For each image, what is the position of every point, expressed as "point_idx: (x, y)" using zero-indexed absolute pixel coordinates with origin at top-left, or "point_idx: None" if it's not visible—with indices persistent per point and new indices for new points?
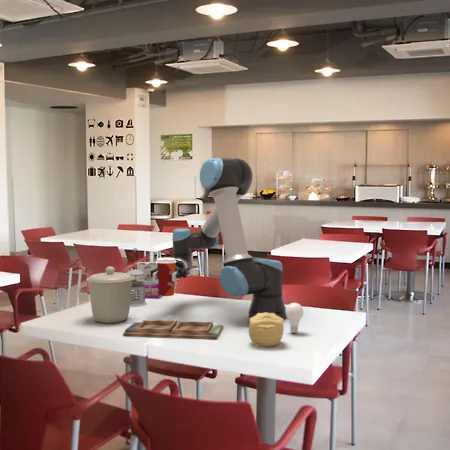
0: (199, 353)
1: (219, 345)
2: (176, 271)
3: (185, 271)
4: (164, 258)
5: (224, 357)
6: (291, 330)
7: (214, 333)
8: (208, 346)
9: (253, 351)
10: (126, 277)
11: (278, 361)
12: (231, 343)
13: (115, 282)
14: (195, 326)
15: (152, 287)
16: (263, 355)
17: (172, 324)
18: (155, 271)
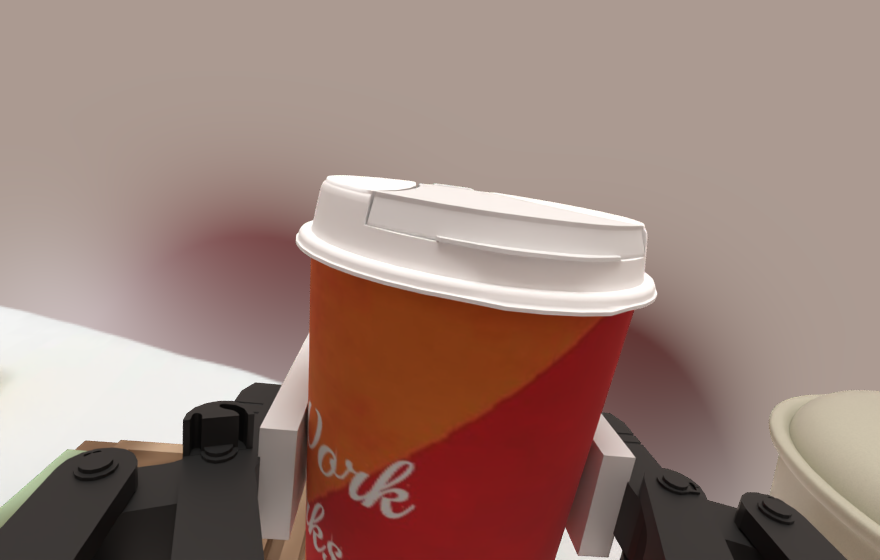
0: (210, 363)
1: (112, 404)
2: (284, 425)
3: (67, 469)
4: (523, 203)
5: (146, 345)
6: None
7: (83, 451)
8: (160, 398)
9: (17, 366)
10: (840, 443)
11: (2, 324)
12: (45, 418)
13: (781, 402)
14: None
15: None
16: (10, 347)
17: (297, 524)
18: (664, 470)
